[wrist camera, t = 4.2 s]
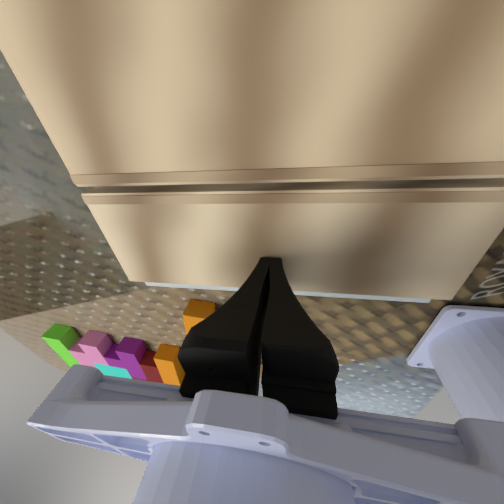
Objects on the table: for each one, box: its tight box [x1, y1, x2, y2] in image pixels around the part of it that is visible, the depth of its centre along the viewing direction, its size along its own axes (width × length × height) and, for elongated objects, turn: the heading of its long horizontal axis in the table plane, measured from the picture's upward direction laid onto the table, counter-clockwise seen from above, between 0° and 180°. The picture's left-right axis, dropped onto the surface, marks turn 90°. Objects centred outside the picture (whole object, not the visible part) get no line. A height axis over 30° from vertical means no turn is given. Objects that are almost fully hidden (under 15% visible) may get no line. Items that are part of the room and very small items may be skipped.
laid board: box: [0, 0, 504, 187], centre depth 9 cm, size 22×7×1 cm, turn 94°
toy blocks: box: [41, 299, 215, 386], centre depth 26 cm, size 23×2×25 cm
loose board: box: [81, 178, 504, 300], centre depth 13 cm, size 22×7×1 cm, turn 94°
